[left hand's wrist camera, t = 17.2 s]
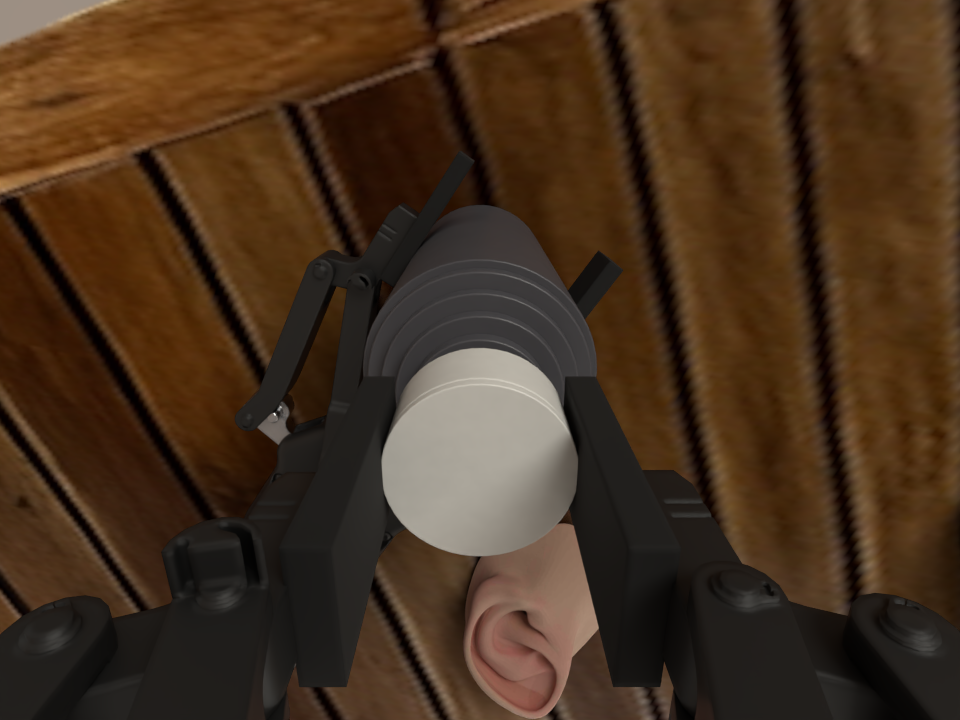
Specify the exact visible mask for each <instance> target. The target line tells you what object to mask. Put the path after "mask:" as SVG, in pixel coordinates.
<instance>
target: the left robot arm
mask: <svg viewBox="0 0 960 720" xmlns="http://www.w3.org/2000/svg"><path fill="white" fill-rule="evenodd" d="M563 408H564V411H565V415H566V418H567V421H568V424H569V427H570V430H571V433H572V437H573V440H574V443H575V446H576V450H577V454H578V471H577V485H576V493H575V496H574V498H573V501H572V503H571V505H570V507H569V509H570V513H571V517H572V521H573V525H574V529H575V534H576V538H577V542H578V546H579V550H580V554H581V558H582V562H583V566H584V570H585V574H586V578H587V582H588V586H589V590H590V594H591V599H592V603H593V607H594V611H595V615H596V619H597V623H598V627H599V631H600V635H601V639H602V643H603V647H604V651H605V655H606V660H607V664H608V668H609V672H610V676H611V680H612V684H613V687H660V685H661V678H662V672H663V665H664V662H665V665H666V667H667V670H668V673H669V676H670V679H671V681H672V684H673V687H674V689H673V695H672V701H671V708H670V714H669V720H960V631H959V630H958V629H957V628H955V627H954V626H953V625H952V624H950V623H949V622H948V621H947V620H945V619H944V618H943V617H941V616H940V615H939V614H937V613H936V612H934V611H932V610H930V609H928V608H926V607H924V606H922V605H920V604H919V603H917V602H914V601H911V600H908V599H905V598H902V597H899V596H896V595H889V594H880V593H872V594H867V595H861V596H859V597H858V598H857V599H856V600H855V601H854V602H853V603H852V604H851V608H850V611H849V614H848V616H846V615H841V614H837V613H833V612H828V611H824V610H820V609H815V608H811V607H807V606H803V605H800V604H797V603H793V602H790V601H788V598H787V597H786V595H785V594H784V592H783V591H782V589H781V587H780V586H779V585H778V584H777V583H776V582H774V581H773V580H772V579H771V578H770V577H768V576H767V575H766V574H764V573H762V572H760V571H758V570H756V569H754V568H752V567H750V566H748V565H744V564H742V563H741V561H740V560H739V558H738V556H737V555H736V553H735V552H734V550H733V548H732V547H731V545H730V544H729V542H728V540H727V539H726V537H725V536H724V534H723V532H722V531H721V529H720V528H719V526H718V524H717V523H716V521H715V520H714V518H711V513H710V512H709V510H708V509H707V507H706V505H705V504H703V502H702V499H701V497H700V496H699V494H698V493H697V491H696V489H695V488H694V486H693V485H692V484H691V483H690V482H689V481H687V480H686V479H685V478H683V477H682V476H680V475H679V474H678V473H676V472H675V471H674V470H642V469H641V467H640V465H639V463H638V461H637V459H636V457H635V455H634V453H633V451H632V449H631V447H630V445H629V443H628V441H627V439H626V437H625V435H624V433H623V431H622V429H621V427H620V425H619V423H618V421H617V419H616V417H615V415H614V413H613V411H612V409H611V407H610V405H609V403H608V401H607V399H606V397H605V395H604V393H603V391H602V389H601V387H600V385H599V383H598V381H597V379H596V377H595V376H565V390H564V407H563ZM395 410H396V396H395V379H394V376H364V378H363V380H362V382H361V384H360V386H359V388H358V390H357V392H356V394H355V396H354V398H353V400H352V402H351V404H350V406H349V408H348V410H347V412H346V414H345V416H344V418H343V420H342V422H341V424H340V426H339V428H338V430H337V432H336V434H335V436H334V438H333V440H332V442H331V444H330V446H329V448H328V450H327V452H326V454H325V456H324V458H323V460H322V462H321V464H320V466H319V468H318V470H317V472H286V473H284V474H283V475H282V476H280V477H279V478H278V479H276V480H275V481H274V482H272V483H271V484H270V485H268V486H267V488H266V489H265V491H264V493H263V494H262V496H261V497H260V499H259V501H258V502H257V506H255V507H254V509H253V510H252V512H251V514H250V515H249V520H247V519H244V518H240V517H221V518H216V519H212V520H208V521H203V522H201V523H198V524H196V525H194V526H192V527H189V528H187V529H185V530H183V531H182V532H181V533H179V534H178V535H177V536H175V537H174V538H172V539H171V540H170V541H169V542H168V544H167V545H166V546H165V548H164V549H163V550H162V552H161V553H162V557H163V561H164V565H165V569H166V573H167V578H168V582H169V586H170V590H171V594H172V598H173V599H172V602H171V603H170V604H168V605H164V606H161V607H158V608H155V609H151V610H146V611H142V612H138V613H133V614H129V615H125V616H120V617H116V618H112V616H111V613H110V609H109V606H108V605H107V604H106V603H105V602H104V601H103V600H102V599H100V598H96V597H91V596H86V595H84V596H76V597H67V598H63V599H60V600H57V601H54V602H51V603H48V604H45V605H43V606H41V607H39V608H37V609H35V610H33V611H31V612H30V613H28V614H26V615H24V616H22V617H21V618H20V619H18V620H17V621H16V622H15V623H13V624H12V625H11V626H10V627H8V628H7V629H6V630H5V631H3V632H2V633H1V634H0V720H289V716H290V709H289V702H288V695H287V686H288V683H289V680H290V678H291V675H292V672H293V669H294V666H295V663H296V668H297V674H298V681H299V687H346V686H347V682H348V678H349V674H350V670H351V666H352V662H353V658H354V654H355V650H356V646H357V642H358V638H359V634H360V630H361V626H362V621H363V617H364V613H365V609H366V605H367V601H368V597H369V593H370V589H371V585H372V581H373V577H374V573H375V569H376V565H377V561H378V556H379V552H380V548H381V544H382V540H383V536H384V532H385V528H386V524H387V520H388V516H389V512H390V508H391V507H390V506H389V504H388V502H387V499H386V497H385V494H384V490H383V476H382V461H381V457H382V452H383V448H384V445H385V442H386V438H387V435H388V432H389V429H390V426H391V423H392V420H393V417H394V413H395Z"/></svg>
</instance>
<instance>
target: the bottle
mask: <svg viewBox="0 0 960 720" xmlns="http://www.w3.org/2000/svg"><path fill="white" fill-rule="evenodd" d="M470 348H488V349H497V350H501V351H505V352H509V353H511V354H514V355H517V356H519V357H521V358H523V359H525V360H527V361H528V362H530V363H531V364H533V365H534V366H535V367H537V368H538V369H539V370H540V371H541V372H542V373H543V374H544V375H545V376H546V377H547V378H548V379H549V380H550V382H551V383H552V384H553V386H554V388H555V389H556V391H557V393H558V395H559V397H560V400H561V402H562V405H563V407H564V390H565V376H595V377H596V373H597V364H596V352H595V347H594V342H593V339H592V336H591V333H590V330H589V327H588V325H587V323H586V321H585V319H584V317H583V316H582V314H581V312H580V310H579V309H578V307H577V305H576V304H575V302H574V300H573V299H572V297H571V296H570V294H569V292H568V291H567V289H566V287H565V286H564V284H563V282H562V281H561V279H560V277H559V276H558V274H557V272H556V271H555V269H554V267H553V266H552V264H551V263H550V261H549V259H548V258H547V256H546V254H545V253H544V251H543V249H542V248H541V246H540V244H539V243H538V241H537V239H536V238H535V236H534V235H533V233H532V232H531V230H530V229H529V228H528V227H527V226H526V224H525V223H524V222H523V221H521V220H520V219H519V218H518V217H516V216H515V215H513V214H511V213H510V212H508V211H505V210H503V209H500V208H497V207H494V206H487V205H473V206H467V207H463V208H459V209H457V210H454V211H452V212H450V213H449V214H447V215H445V216H444V217H442V218H441V219H440V220H438V221H437V222H436V223H435V224H434V225H433V227H432V228H431V230H430V231H429V233H428V234H427V236H426V237H425V239H424V241H423V242H422V244H421V245H420V247H419V248H418V250H417V251H416V253H415V255H414V256H413V258H412V259H411V261H410V262H409V264H408V266H407V267H406V269H405V271H404V272H403V274H402V275H401V277H400V279H399V280H398V282H397V284H396V285H395V287H394V289H393V290H392V292H391V294H390V295H389V297H388V298H387V300H386V302H385V303H384V305H383V307H382V308H381V310H380V312H379V313H378V315H377V317H376V319H375V321H374V323H373V324H372V327H371V330H370V332H369V335H368V337H367V341H366V346H365V350H364V359H363V376H394V379H395V396H396V407H397V404H398V402H399V399H400V396H401V394H402V392H403V390H404V389H405V387H406V385H407V384H408V383H409V381H410V380H411V379H412V377H413V376H414V375H415V374H416V373H417V372H418V371H419V370H420V369H422V368H423V367H424V366H426V365H427V364H428V363H430V362H432V361H433V360H435V359H437V358H438V357H441V356H443V355H446V354H448V353H451V352H455V351H458V350H463V349H470Z"/></svg>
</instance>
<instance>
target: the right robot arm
mask: <svg viewBox="0 0 960 720" xmlns="http://www.w3.org/2000/svg"><path fill="white" fill-rule="evenodd" d="M473 163H474V160H473V159H471V158H470V157H469V156H467V155H466V154H465V153H463V152H462V151H459V152H458V154H457V156H456V157H455V159H454V160H453V162H452V164H451V165H450V167H449V168H448V170H447V171H446V173H445V175H444V176H443V178H442V179H441V181H440V183H439V184H438V186H437V187H436V189H435V190H434V192H433V194H432V195H431V197H430V198H429V200H428V202H427V203H426V205H425V206H424V208H423V209H422V211H421V213H418V212H417V211H415V210H414V209H412V208H411V207H409V206H408V205H406V204H405V203H404V202H403V203H402V204H400V205H399V206H398V207H396V208H395V209H393V210H392V211H391V212H389V214H388V216H387V217H386V219H385V221H384V222H383V224H382V226H381V227H380V229H379V231H378V232H377V234H376V235H375V237H374V239H373V240H372V242H371V244H370V245H369V247H368V248H367V250H366V252H365V253H364V255H363V256H361V257H350V256H346V255H342V254H341V253H339V252H338V251H335V250H328V251H326V252H325V253H323V254H321V255H320V256H319V257H317V258H316V259H314V260H313V261H311V262H310V264H309V265H308V267H307V269H306V272H305V274H304V277H303V279H302V282H301V284H300V287H299V290H298V292H297V295H296V297H295V300H294V302H293V305H292V307H291V310H290V312H289V315H288V318H287V320H286V323H285V325H284V328H283V330H282V333H281V335H280V338H279V340H278V343H277V346H276V348H275V351H274V353H273V356H272V358H271V361H270V363H269V366H268V368H267V371H266V374H265V376H264V379H263V381H262V384H261V386H260V389H259V390H258V391H257V392H256V393H255V394H254V395H253V396H252V397H251V398H250V399H249V400H248V401H247V402H246V404H245V405H244V406H243V407H242V408H241V409H240V410H239V411H238V412H237V414H236V416H235V422H236V424H237V426H238V427H239V428H241V429H242V430H245V431H252V430H254V429H256V428H258V429H260V430H261V431H262V432H263V433H264V434H266V435H267V436H268V437H269V438H271V439H272V440H273V441H274V442H275V443H277V444H278V449H277V465H276V467H275V469H274V470H273V472H272V474H271V475H270V477H269V478H268V480H267V481H266V483H265V484H264V486H263V488H262V489H261V491H260V492H259V494H258V495H257V497H256V498H255V500H254V502H253V503H252V505H251V506H250V508H249V509H248V511H247V513H246V515H245V517H244V519H247V520H249V515H250V514H251V512H252V510H253V509H254V507H255V506H257V502H258V501H259V499H260V497H261V496H262V494H263V493H264V491H265V489H266V488H267V486H268V485H270V484H271V483H272V482H274V481H275V480H276V479H278V478H279V477H280V476H282V475H283V474H284V473H286V472H317V470H318V468H319V466H320V464H321V462H322V460H323V458H324V456H325V454H326V452H327V450H328V448H329V446H330V444H331V442H332V440H333V438H334V436H335V434H336V432H337V430H338V428H339V426H340V424H341V422H342V420H343V418H344V416H345V414H346V412H347V410H348V408H349V406H350V404H351V402H352V400H353V398H354V396H355V394H356V392H357V390H358V388H359V386H360V384H361V382H362V380H363V378H364V376H363V359H364V350H365V346H366V341H367V337H368V335H369V332H370V330H371V327H372V324H373V323H374V321H375V319H376V314H377V308H378V302H379V296H380V290H381V284H382V280H383V281H384V282H386V283H387V284H389V285H391V286H392V287H394V286H395V284H396V283H397V281H398V279H399V278H400V276H401V275H402V273H403V272H404V270H405V269H406V267H407V265H408V264H409V262H410V261H411V259H412V258H413V256H414V255H415V253H416V251H417V250H418V248H419V247H420V245H421V244H422V242H423V241H424V239H425V237H426V236H427V234H428V233H429V231H430V230H431V228H432V227H433V225H434V224H435V222H436V220H437V219H438V217H439V216H440V214H441V213H442V211H443V210H444V208H445V206H446V205H447V203H448V202H449V200H450V199H451V197H452V196H453V194H454V192H455V191H456V189H457V188H458V186H459V185H460V183H461V182H462V180H463V178H464V177H465V175H466V174H467V172H468V171H469V169H470V168H471V166H472V164H473ZM622 271H623V270H622V269H621V268H620V267H619V266H618V265H617V264H615V263H614V262H613V261H612V260H611V259H609V258H608V257H607V256H605V255H604V254H603V253H601V252H600V251H598V252H597V253H596V254H595V256H594V257H593V258H592V260H591V261H590V262H589V264H588V265H587V266H586V268H585V269H584V270H583V272H582V273H581V274H580V276H579V277H578V278H577V279H576V281H575V282H574V283H573V285H572V286H571V287H570V289H569V290H568V292H569V294H570V296H571V297H572V299H573V300H574V302H575V304H576V305H577V307H578V309H579V310H580V312H581V314H582V316H583V317H584V319H586V317H587V316H588V315H589V313H590V312H591V311H592V310H593V308H594V307H595V306H596V305H597V303H598V302H599V301H600V299H601V298H602V297H603V296H604V294H605V293H606V292H607V290H608V289H609V288H610V287H611V285H612V284H613V283H614V281H615V280H616V279H617V278H618V276H619V275H620V274H621V273H622ZM336 286H338V287H342V288H346V289H347V293H346V300H345V307H344V314H343V321H342V328H341V335H340V342H339V348H338V355H337V362H336V369H335V376H334V383H333V390H332V396H331V401H330V405H329V408H328V412H327V415H325V416H322V417H319V418H316V419H313V420H310V421H307V422H304V423H301V424H298V425H295V424H294V423H293V422H292V420H291V413H292V411H293V409H294V406H295V405H294V401H293V398H292V396H291V395H289V394H288V392H289V391H290V390H291V389H292V387H293V386H294V384H295V383H296V381H297V379H298V377H299V375H300V373H301V371H302V368H303V366H304V363H305V361H306V358H307V356H308V354H309V351H310V349H311V346H312V344H313V342H314V339H315V337H316V334H317V332H318V330H319V327H320V325H321V322H322V320H323V318H324V315H325V313H326V310H327V308H328V306H329V303H330V301H331V298H332V296H333V294H334V291H335V289H336ZM405 529H407V528H406V527H405V526H404V525H403V524H402V523H401V522H400V521H399V519H398V518H397V517H396V515H395V514H394V513H393V511H392V509H391V508H390V512H389V516H388V520H387V524H386V528H385V532H384V536H383V540H382V544H381V548H380V552H379V556H380V555H381V554H382V553H383V551H384V550H385V549H386V547H387V546H388V545H389V543H390V542H391V540H392V539H393V538H394V536H395V535H396V534H398V533H399V532H401V531H403V530H405ZM379 556H378V558H379ZM295 666H296V663H295ZM295 666H294V667H295Z"/></svg>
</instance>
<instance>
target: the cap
mask: <svg viewBox="0 0 960 720" xmlns="http://www.w3.org/2000/svg"><path fill="white" fill-rule="evenodd" d="M381 461H382V476H383V490H384V494H385V497H386V499H387V502H388V504H389V506H390V507H391V509H392V511H393V513H394V514H395V515H396V517H397V518H398V519H399V521H400V522H401V523H402V524H403V525H404V526H405V527H406V528H407V529H408V530H409V531H410V532H412V533H413V534H414V535H415V536H417V537H418V538H420V539H421V540H423V541H425V542H426V543H428V544H430V545H432V546H434V547H437V548H439V549H442V550H445V551H448V552H451V553H456V554H461V555H468V556H491V555H499V554H504V553H508V552H512V551H515V550H518V549H521V548H523V547H525V546H527V545H529V544H532V543H534V542H535V541H537V540H538V539H540V538H541V537H543V536H544V535H546V534H547V533H548V532H549V531H550V530H552V529H553V528H554V527H555V526H556V525H557V523H558V522H559V521H560V520H561V519H562V518H563V516H564V515H565V513H566V512H567V510H568V509H569V507H570V505H571V503H572V501H573V498H574V496H575V493H576V485H577V471H578V454H577V450H576V446H575V443H574V440H573V437H572V433H571V430H570V427H569V424H568V421H567V418H566V415H565V411H564V408H563V405H562V402H561V400H560V397H559V395H558V393H557V391H556V389H555V388H554V386H553V384H552V383H551V382H550V380H549V379H548V378H547V377H546V376H545V375H544V374H543V373H542V372H541V371H540V370H539V369H538V368H537V367H535V366H534V365H533V364H531V363H530V362H528V361H527V360H525V359H523V358H521V357H519V356H517V355H514V354H511V353H509V352H505V351H501V350H497V349H488V348H470V349H463V350H458V351H455V352H451V353H448V354H446V355H443V356H441V357H438V358H437V359H435V360H433V361H432V362H430V363H428V364H427V365H426V366H424V367H423V368H422V369H420V370H419V371H418V372H417V373H416V374H415V375H414V376H413V377H412V379H411V380H410V381H409V383H408V384H407V385H406V387H405V389H404V390H403V392H402V394H401V396H400V399H399V402H398V404H397V407H396V410H395V413H394V417H393V420H392V423H391V426H390V429H389V432H388V435H387V438H386V442H385V445H384V448H383V452H382V457H381Z"/></svg>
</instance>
